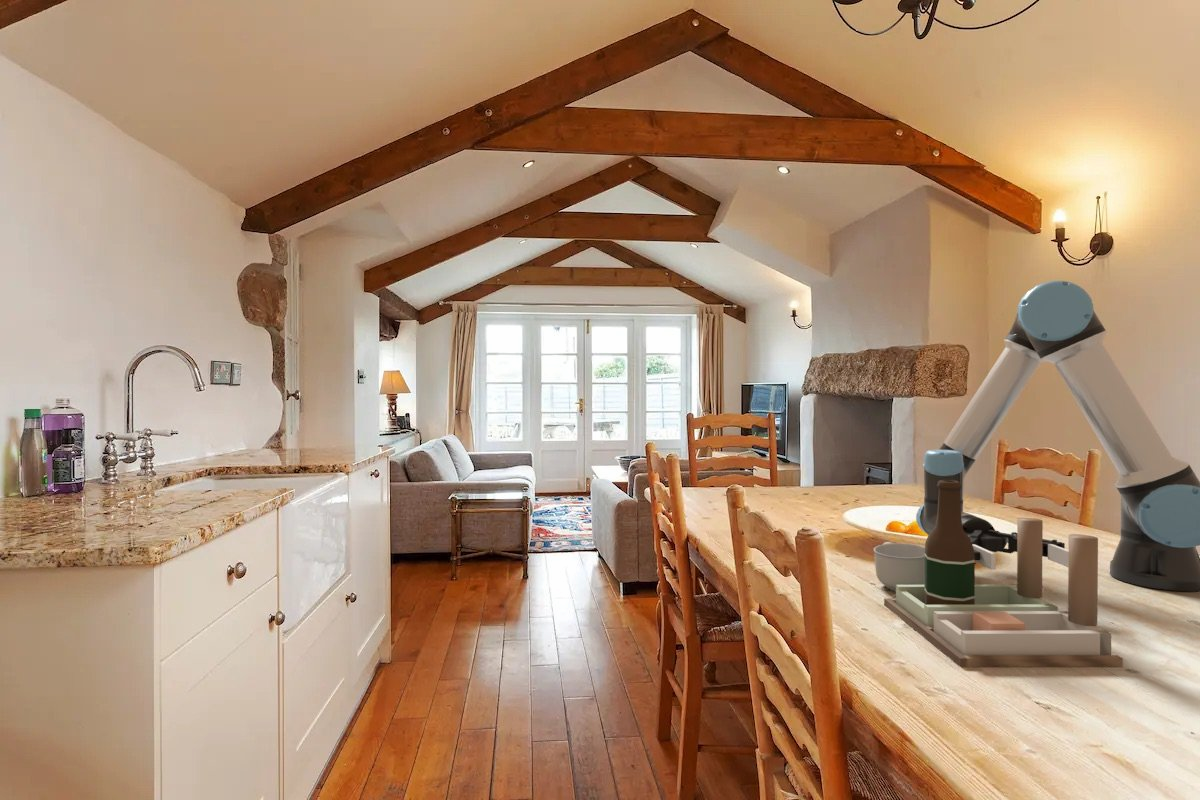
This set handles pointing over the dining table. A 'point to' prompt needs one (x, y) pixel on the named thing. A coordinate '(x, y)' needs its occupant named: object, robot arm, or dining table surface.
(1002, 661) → the lane rails
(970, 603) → the beer bottle
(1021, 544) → the bottle sled
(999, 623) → the terracotta cube
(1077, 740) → the dining table surface
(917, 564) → the teacup
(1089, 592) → the tray
